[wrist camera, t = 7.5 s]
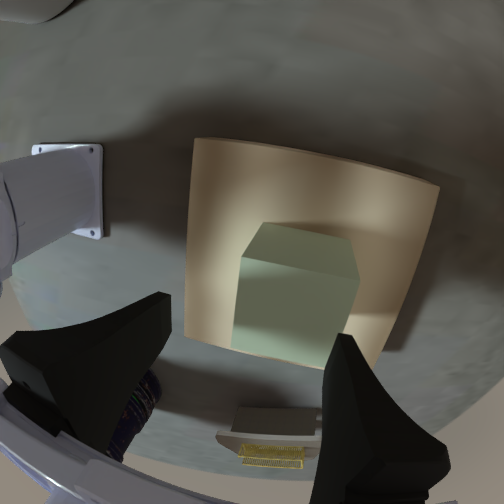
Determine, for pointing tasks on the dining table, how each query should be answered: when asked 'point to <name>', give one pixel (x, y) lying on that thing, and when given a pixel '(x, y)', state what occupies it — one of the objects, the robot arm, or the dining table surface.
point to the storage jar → (134, 415)
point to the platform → (273, 435)
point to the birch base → (304, 218)
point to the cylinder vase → (31, 10)
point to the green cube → (294, 294)
